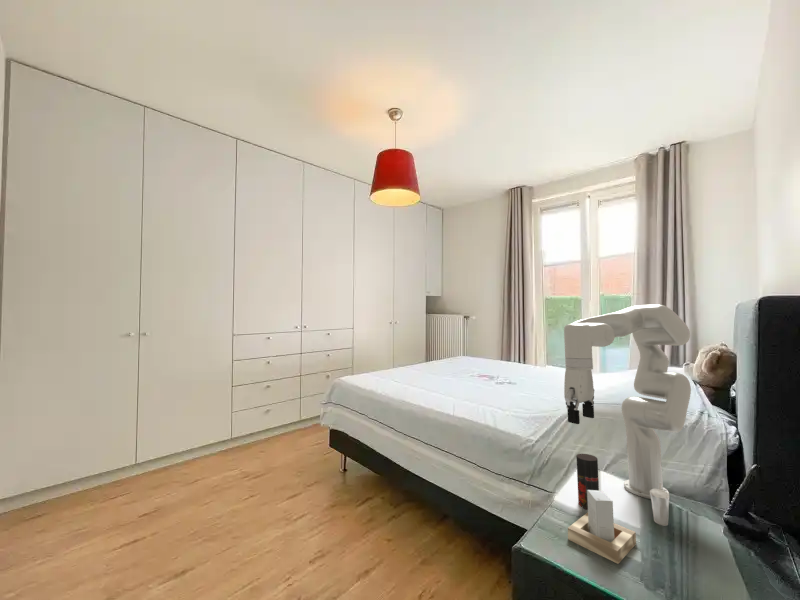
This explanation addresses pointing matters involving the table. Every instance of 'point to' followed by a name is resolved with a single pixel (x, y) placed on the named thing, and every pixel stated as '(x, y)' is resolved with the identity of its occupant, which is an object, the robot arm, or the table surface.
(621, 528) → the holder
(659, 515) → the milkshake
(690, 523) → the table surface
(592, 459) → the deodorant
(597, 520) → the skincare box
